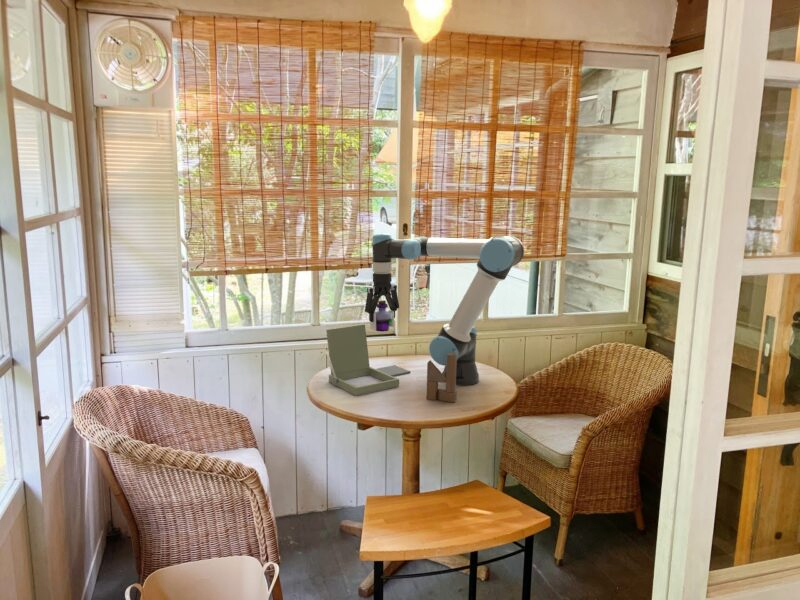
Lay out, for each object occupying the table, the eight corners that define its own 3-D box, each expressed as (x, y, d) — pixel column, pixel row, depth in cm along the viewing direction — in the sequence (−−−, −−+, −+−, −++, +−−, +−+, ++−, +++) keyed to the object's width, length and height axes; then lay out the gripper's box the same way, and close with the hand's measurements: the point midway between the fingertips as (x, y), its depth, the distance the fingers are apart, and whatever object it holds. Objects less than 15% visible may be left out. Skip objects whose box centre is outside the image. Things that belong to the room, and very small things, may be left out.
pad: (410, 373, 264) (410, 371, 264) (389, 377, 257) (389, 375, 257) (394, 366, 272) (394, 365, 272) (373, 370, 266) (373, 369, 266)
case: (398, 386, 246) (399, 335, 242) (354, 396, 234) (354, 342, 230) (365, 371, 265) (365, 323, 261) (322, 380, 252) (322, 330, 249)
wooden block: (428, 396, 235) (430, 349, 232) (456, 400, 232) (458, 352, 229) (426, 399, 232) (427, 352, 229) (454, 403, 229) (456, 355, 225)
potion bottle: (392, 332, 249) (392, 302, 247) (370, 332, 250) (370, 302, 248) (393, 327, 258) (393, 299, 256) (372, 327, 258) (372, 298, 256)
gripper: (396, 269, 259) (396, 322, 263) (354, 273, 246) (355, 330, 250) (408, 271, 254) (408, 325, 258) (366, 275, 240) (366, 333, 244)
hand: (382, 327), depth 254 cm, fingers closed on potion bottle, 9 cm apart
